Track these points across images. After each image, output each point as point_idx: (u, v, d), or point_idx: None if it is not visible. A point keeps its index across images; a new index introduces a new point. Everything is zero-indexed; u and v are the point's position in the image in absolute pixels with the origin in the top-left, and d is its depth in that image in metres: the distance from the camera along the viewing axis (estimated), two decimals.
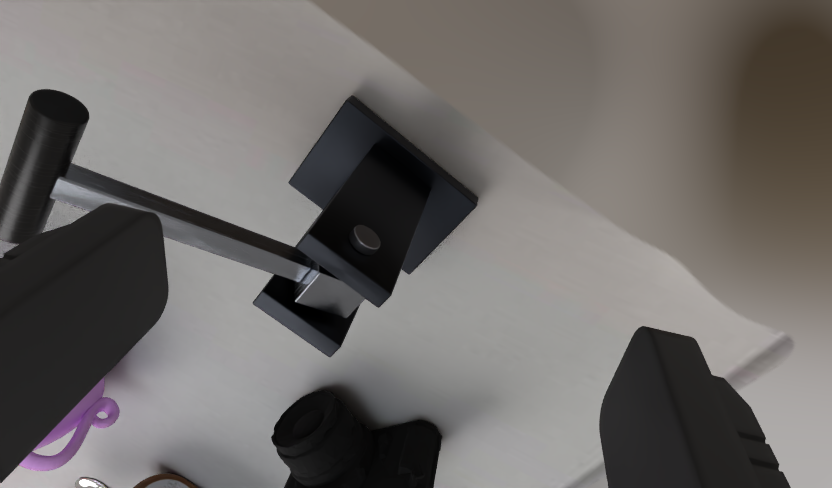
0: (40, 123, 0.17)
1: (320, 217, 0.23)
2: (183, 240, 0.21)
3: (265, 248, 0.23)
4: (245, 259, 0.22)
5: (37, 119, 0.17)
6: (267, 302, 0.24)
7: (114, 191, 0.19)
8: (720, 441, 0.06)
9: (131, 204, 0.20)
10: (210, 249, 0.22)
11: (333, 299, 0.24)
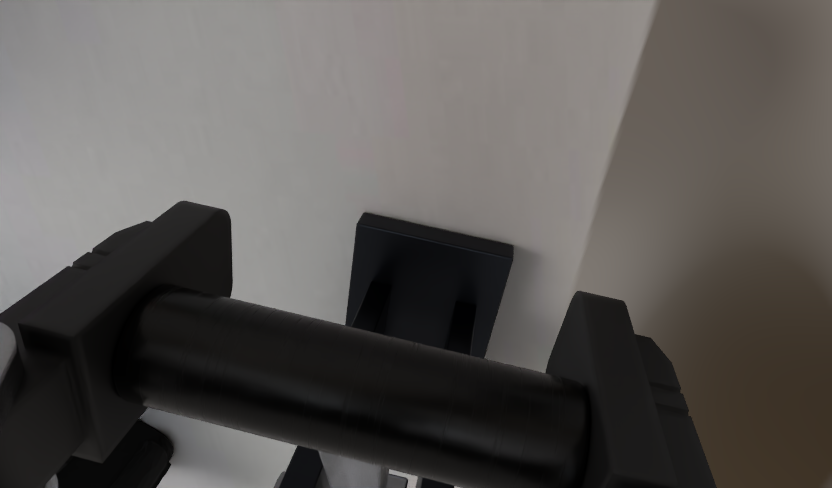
0: None
1: None
2: None
3: None
4: None
5: None
6: None
7: None
8: (630, 386, 0.07)
9: (378, 481, 0.10)
10: None
11: None
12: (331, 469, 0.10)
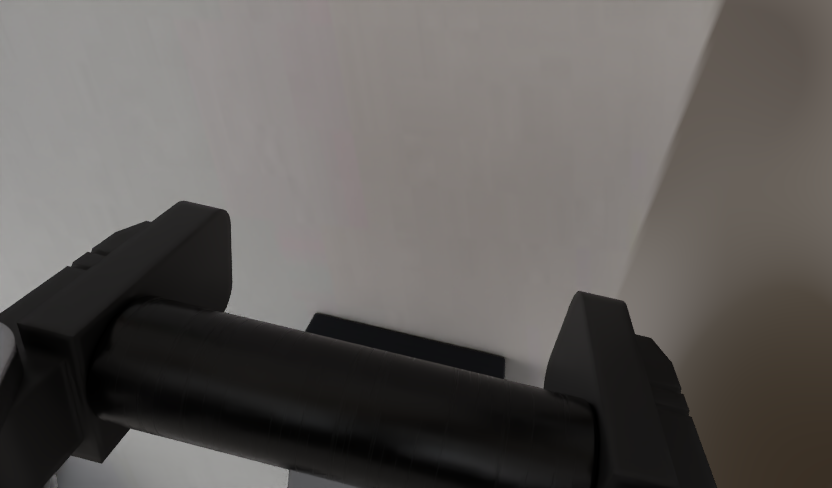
0: None
1: None
2: None
3: None
4: None
5: None
6: None
7: None
8: (630, 386, 0.07)
9: None
10: None
11: None
12: None
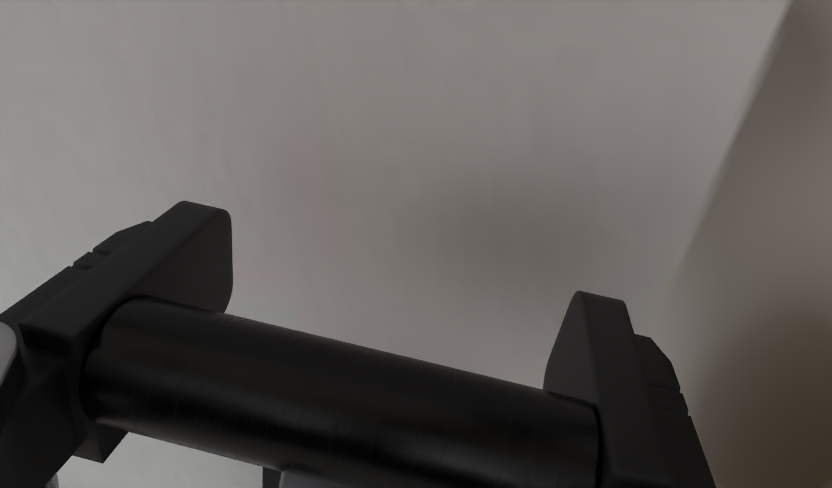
0: (569, 484, 0.06)
1: None
2: None
3: None
4: None
5: (576, 474, 0.06)
6: None
7: None
8: (629, 385, 0.07)
9: None
10: None
11: None
12: None
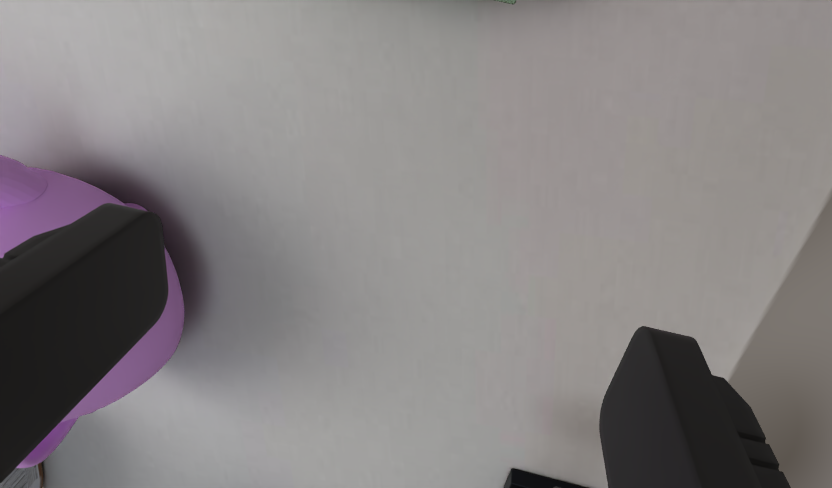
0: None
1: None
2: None
3: None
4: None
5: None
6: None
7: None
8: (720, 441, 0.06)
9: None
10: None
11: None
12: None
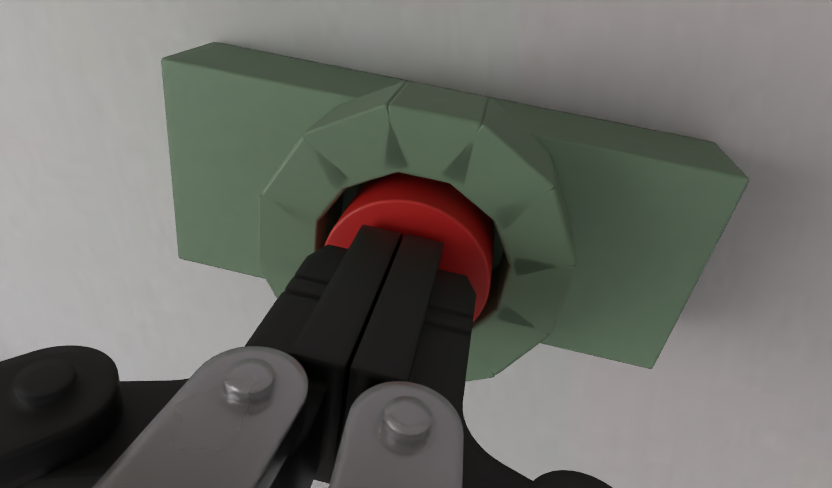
0: None
1: None
2: None
3: None
4: None
5: None
6: None
7: None
8: (408, 305, 0.07)
9: None
10: None
11: None
12: None
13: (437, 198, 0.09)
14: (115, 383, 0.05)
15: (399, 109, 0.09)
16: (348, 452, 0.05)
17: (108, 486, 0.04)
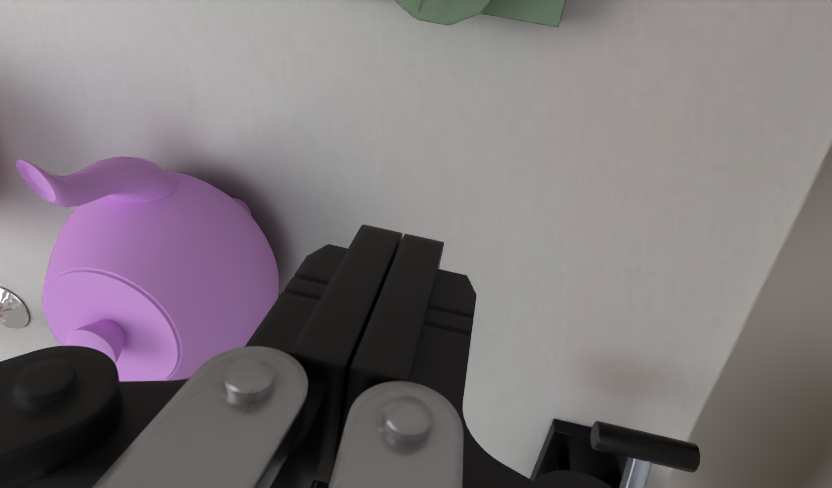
0: (694, 460, 0.31)
1: None
2: None
3: None
4: None
5: (695, 458, 0.31)
6: None
7: (643, 485, 0.33)
8: (408, 305, 0.07)
9: None
10: None
11: None
12: None
13: None
14: (115, 383, 0.05)
15: None
16: (348, 452, 0.05)
17: (108, 486, 0.04)
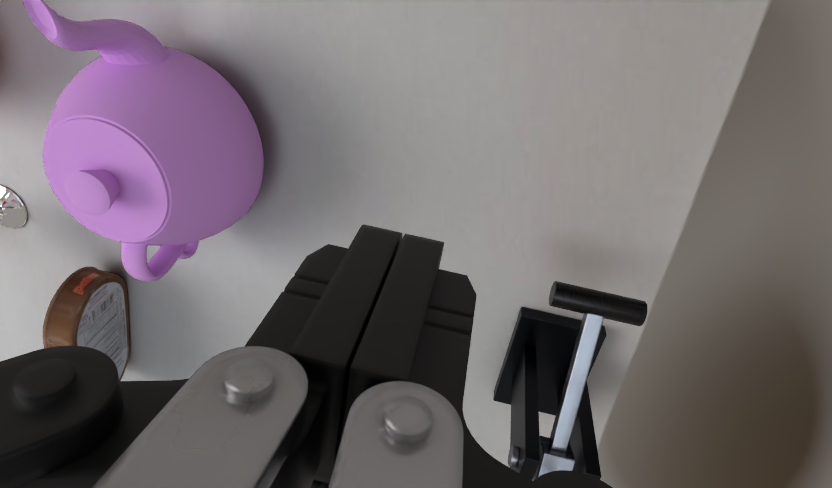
0: (642, 312, 0.34)
1: None
2: (572, 379, 0.36)
3: None
4: (565, 414, 0.36)
5: (643, 310, 0.34)
6: (532, 465, 0.35)
7: (596, 340, 0.35)
8: (408, 305, 0.07)
9: (594, 350, 0.35)
10: (568, 393, 0.36)
11: None
12: (581, 346, 0.35)
13: None
14: (115, 383, 0.05)
15: None
16: (348, 452, 0.05)
17: (108, 486, 0.04)
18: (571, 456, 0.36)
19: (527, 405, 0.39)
